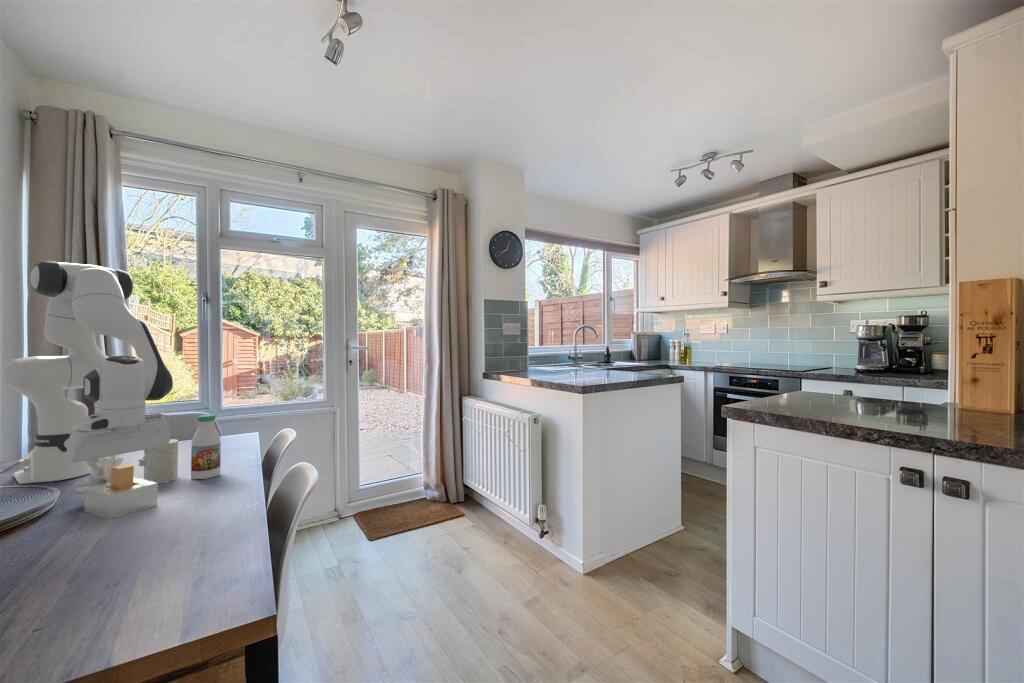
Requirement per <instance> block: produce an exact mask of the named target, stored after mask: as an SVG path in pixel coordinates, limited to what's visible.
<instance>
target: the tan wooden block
mask: <svg viewBox="0 0 1024 683" xmlns="http://www.w3.org/2000/svg"><path fill="white" fill-rule="evenodd" d="M134 467H135V466H134V465H131V464H129V463H128V464H127V463H124V464H120V465H118V466H113V467H111V489H114V490H118V489H122V488H126V487H130V486H133V477H134V475H135V474H134V470H135V469H134Z"/></svg>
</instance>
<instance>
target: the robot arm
mask: <svg viewBox="0 0 1024 683" xmlns="http://www.w3.org/2000/svg"><path fill="white" fill-rule="evenodd" d="M29 280H30V285H32V289H33V290H34V291H35V292H37V294H38V295H41V296H46V297H49V299H48V302H47V306H46V312H45V322H44V329H43V330H44V331H43V336H44V337H45V339H46V340H47V341H49V343H51V344H54V345H56V346H59V347H62V348H65V349H67V350H68V352H67V355H34V356H28V357H26V356H25V357H21V358H14V359H12V360H11V361H9V362H8V363H7V364H6V365H5V366H4V367H3V370H2V374H1V376H2V380H3V382H4V384H5V385H6V386H7V387H8V388H10V389H12V390H13V391H15V392H17V393H19V394H22V395H23V396H24V397H26V398H27V399H28V400H29V401H30V402H31V403H32V404H33V406H34V407H35V408H34V409H35V411H36V417H37V434H36V435H35V437H34V443H33V445H34V447H33V448H32V449H31V450H30V451H29V452H28V454H27V455H26V456H25V458H22V459H19V460H18V467H19V468H23V467H24V469H23V470H19V471H15V472H13V477H14V479H15V480H16V482H17V483H18V484H19V485H24V484H32V483H45V482H54V481H55V482H56V481H62V480H63V481H64V480H67V479H73V478H77V477H83V476H85V475H88V474H89V475H90V467H91V468H92V469H93V476H95V477H96V476H100V475H104V472H103V471H104V468H101V467H98V466H97V465H96V464H95V463H98V460H99V458H103V457H108V456H114V455H115V456H117V455H119V456H120V455H122V454H123V455H124V454H128V453H135V452H138V451H139V452H140V451H143V452H146V453H145V455H144V454H143V457H142V458H139V459H138V462H139V463H138V466H140V467H144V466H146V465H149V459H150V457H151V456H152V454H153V453H154V448H156V447H161V446H166V445H167V444H168V443H169V442H170V439H171V436H170V428H169V425H170V417H169V416H168V415H167V414H165V413H162V412H160V413H155V414H154V413H151V414H146V407H147V405H146V401H160V400H161V399H163V398H165V397H166V396H167V395H169V393H170V392H171V391H172V390H173V386H174V381H173V376H172V374H171V372H170V371H169V368H167V366H166V365H165V363H164V360H163V359H162V357H161V354H160V352H159V349H158V347H157V345H156V343H155V341H154V339H153V336H152V334H151V332H150V330H149V328H148V326H147V324H146V323H145V322H144V320H142V319H140V318H138V317H136V316H135V315H134V314H133V313H132V312H131V310H130V309H129V308H128V306H127V303H126V300H127V299H129V298H131V296H132V293H133V291H134V281H133V278H132V276H131V275H130V274H129V272H127V271H125V270H121V269H118V268H110V267H106V266H105V267H104V266H100V265H94V264H88V263H86V264H83V263H73V262H58V261H54V260H53V261H52V260H51V261H50V260H47V261H46V260H45V261H40V262H38V263H36V264H35V265H34V267H33V268H32V270H31V272H30V276H29ZM96 334H98V335H101V336H107V337H110V338H113V339H118V340H121V341H123V342H125V343H127V344H129V345H130V346H132V348H133V349H134V351H135V353H136V355H137V356H129V355H116V356H115V355H114V356H110V357H109V356H107V355H106V354H105V353H104V352H103V351H102V350H101V348H100V347H99V346H98V344H97V341H96ZM74 389H75V390H77V389H82V390H83V392H82V395H83V397H84V398H86V399H87V400H89V401H90V402H93V403H99V404H100V406H99V412H96V413H94V414H91V415H89V408H88V406H87V405H86V404H85V403H83V402H81V401H78V400H76V399H73V398H67V397H66V396H65V393H64V390H74Z"/></svg>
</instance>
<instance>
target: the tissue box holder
mask: <svg viewBox="0 0 1024 683" xmlns="http://www.w3.org/2000/svg"><path fill="white" fill-rule="evenodd" d="M115 459H116V455H114V456H108V457H103V458H99V460H98V463H95V464H96V465H97V466H98V467H101V468H104V471H103V472H104V475H100V476H96V477H95V476H93V469H92V468H91V467H90V473H89V481H87V482H83V483H80V484H79V485H77V486H75V494H76V495H84V513H85V512H86V513H89V514H91V515H94V516H97V515H98V517H100V516H101V517H100V518H103V517H104V518H103V519H106V518H107V519H106V520H111V519H112V518H113V519H115V517H116V518H120V517H122V515H123V516H126V515H129V514H133V513H136V512H139V511H138V510H140V511H142V509H143V510H146V509H149V508H148V507H150V508H152V507H151V506H153V507H156V506H158V493H159V492H158V486H159V484H158V483H156V482H152V481H148V480H144V478H141V477H140V478H139V477H137V476H133V486H130V487H126V488H122V489H118V490H114V489H111V467H113V466H115ZM155 505H156V506H155ZM145 508H146V509H145ZM132 512H133V513H132ZM125 514H126V515H125ZM113 519H112V520H113Z"/></svg>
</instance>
